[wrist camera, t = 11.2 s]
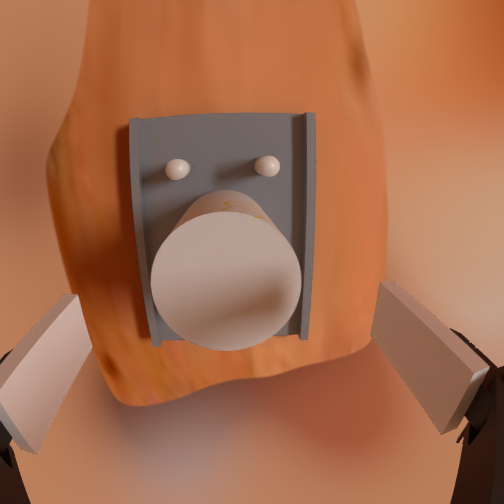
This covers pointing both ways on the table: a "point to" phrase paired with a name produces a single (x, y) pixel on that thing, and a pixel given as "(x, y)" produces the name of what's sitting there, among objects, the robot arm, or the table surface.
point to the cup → (225, 274)
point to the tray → (224, 186)
